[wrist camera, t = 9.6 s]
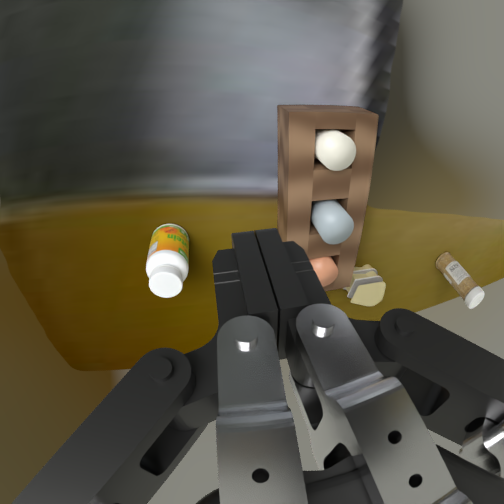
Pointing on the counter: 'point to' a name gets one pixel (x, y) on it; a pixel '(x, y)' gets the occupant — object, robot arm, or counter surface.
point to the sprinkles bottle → (460, 280)
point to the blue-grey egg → (331, 221)
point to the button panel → (323, 179)
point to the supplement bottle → (168, 260)
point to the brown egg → (325, 269)
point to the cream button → (334, 149)
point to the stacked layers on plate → (366, 286)
